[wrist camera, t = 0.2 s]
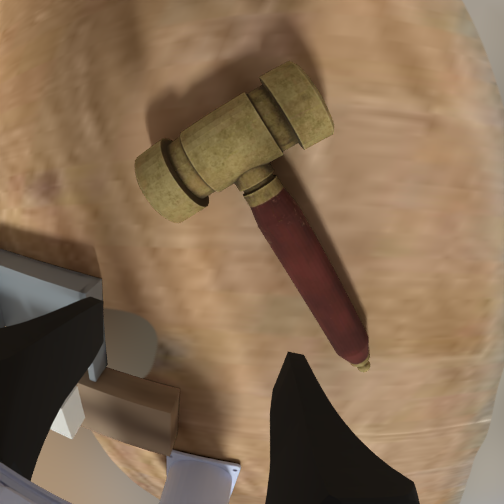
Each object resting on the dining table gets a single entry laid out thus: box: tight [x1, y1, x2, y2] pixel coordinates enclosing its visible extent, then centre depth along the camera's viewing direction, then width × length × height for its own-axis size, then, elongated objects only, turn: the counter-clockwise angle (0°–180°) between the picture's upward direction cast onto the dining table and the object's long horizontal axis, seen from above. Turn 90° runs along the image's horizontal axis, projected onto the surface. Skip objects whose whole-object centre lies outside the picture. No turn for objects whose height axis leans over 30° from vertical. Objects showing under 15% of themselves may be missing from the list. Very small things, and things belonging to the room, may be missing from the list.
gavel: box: [135, 61, 370, 372], centre depth 19 cm, size 21×5×10 cm
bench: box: [76, 367, 180, 456], centre depth 25 cm, size 7×19×3 cm, turn 80°
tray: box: [0, 249, 107, 382], centre depth 23 cm, size 9×13×2 cm, turn 80°
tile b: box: [50, 386, 85, 439], centre depth 22 cm, size 4×4×3 cm
